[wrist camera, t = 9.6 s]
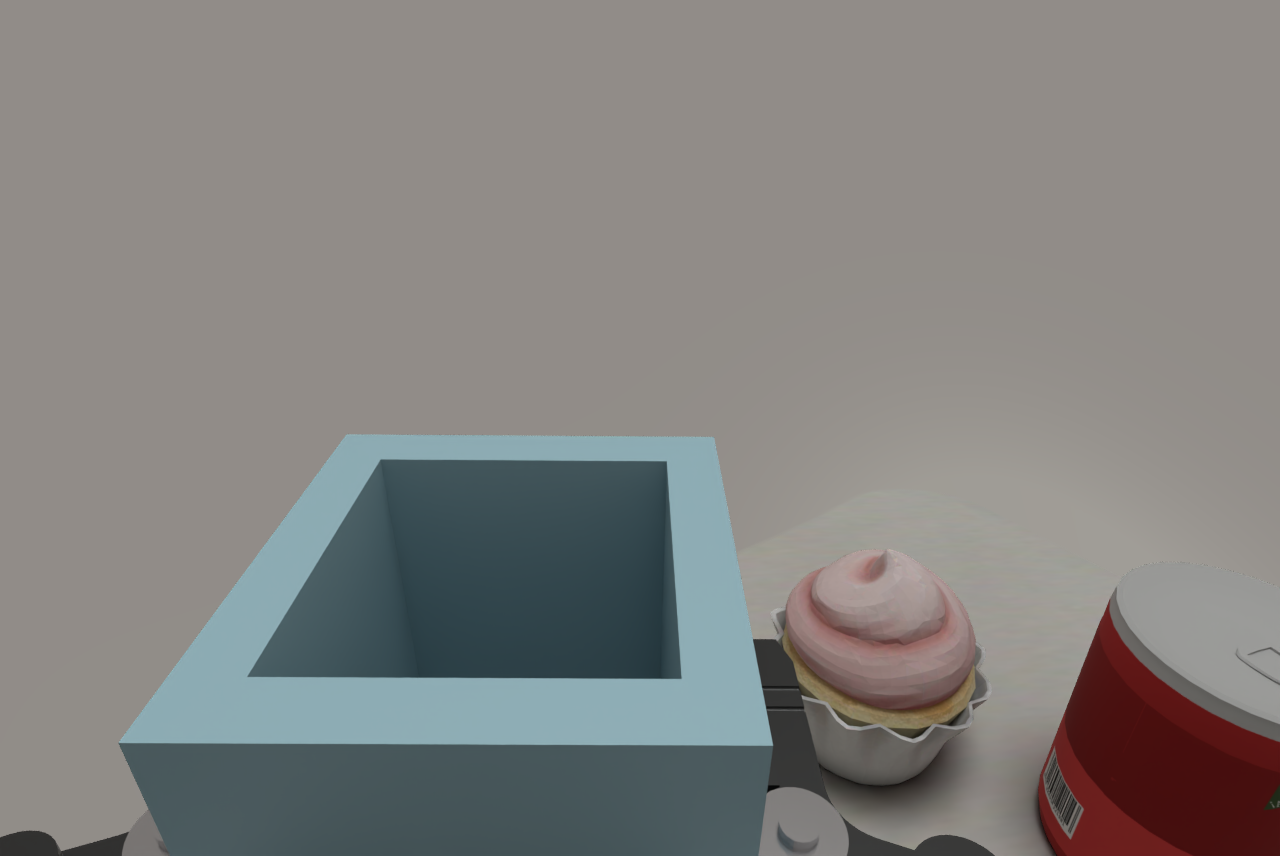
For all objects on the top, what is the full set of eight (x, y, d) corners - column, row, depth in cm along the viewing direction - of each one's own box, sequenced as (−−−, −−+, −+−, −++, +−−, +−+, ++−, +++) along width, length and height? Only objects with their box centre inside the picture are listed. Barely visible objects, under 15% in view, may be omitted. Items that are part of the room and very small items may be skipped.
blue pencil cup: (324, 1190, 11) (117, 743, 7) (423, 825, 17) (346, 434, 12) (713, 1191, 11) (772, 745, 7) (689, 826, 17) (713, 436, 12)
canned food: (1212, 1009, 24) (1371, 787, 19) (990, 817, 30) (1067, 608, 25) (1303, 879, 28) (1457, 665, 23) (1091, 732, 34) (1175, 535, 29)
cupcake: (792, 628, 40) (815, 467, 35) (980, 697, 36) (1034, 525, 31) (722, 760, 32) (739, 579, 28) (948, 865, 28) (1013, 674, 24)
